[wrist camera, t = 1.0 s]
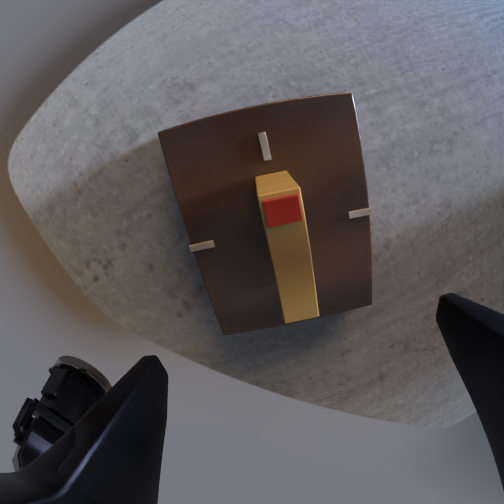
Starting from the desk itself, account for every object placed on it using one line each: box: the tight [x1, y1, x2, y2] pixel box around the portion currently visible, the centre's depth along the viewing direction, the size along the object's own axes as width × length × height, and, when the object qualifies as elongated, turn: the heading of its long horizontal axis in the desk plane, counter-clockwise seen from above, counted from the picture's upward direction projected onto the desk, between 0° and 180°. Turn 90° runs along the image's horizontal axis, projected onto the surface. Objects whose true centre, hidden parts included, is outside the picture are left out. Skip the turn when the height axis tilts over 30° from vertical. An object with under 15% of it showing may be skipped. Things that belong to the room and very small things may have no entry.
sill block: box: [158, 92, 373, 335], centre depth 16 cm, size 13×10×3 cm
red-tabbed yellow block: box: [255, 171, 319, 323], centre depth 13 cm, size 6×2×4 cm, turn 13°
